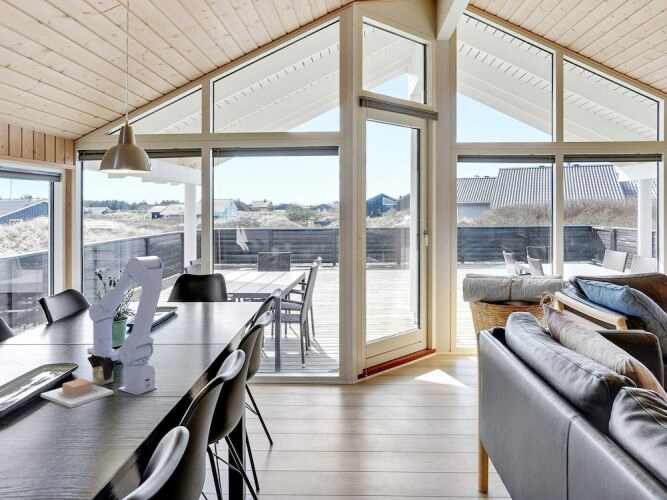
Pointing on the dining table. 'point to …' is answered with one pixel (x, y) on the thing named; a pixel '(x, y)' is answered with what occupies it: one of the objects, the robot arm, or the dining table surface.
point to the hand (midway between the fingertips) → (103, 377)
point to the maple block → (100, 376)
